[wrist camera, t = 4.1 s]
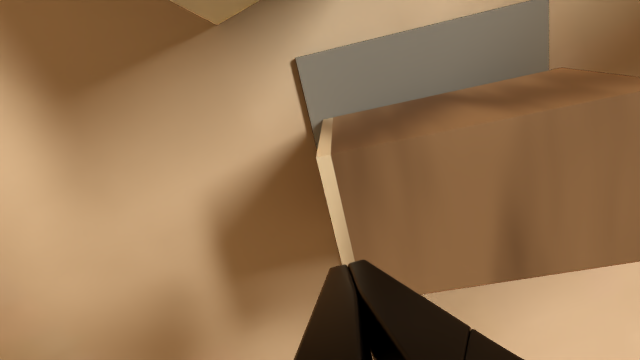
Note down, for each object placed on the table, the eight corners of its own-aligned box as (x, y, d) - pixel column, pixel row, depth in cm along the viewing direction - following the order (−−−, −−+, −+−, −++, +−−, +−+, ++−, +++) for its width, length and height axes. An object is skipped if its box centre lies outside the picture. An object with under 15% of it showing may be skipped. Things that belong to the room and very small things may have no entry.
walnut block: (323, 119, 14) (561, 67, 13) (347, 228, 16) (560, 190, 15) (316, 157, 10) (683, 82, 9) (351, 304, 11) (661, 257, 10)
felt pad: (545, -4, 14) (548, -4, 14) (546, 221, 17) (549, 223, 17) (295, 57, 14) (295, 57, 13) (346, 274, 17) (347, 277, 17)
